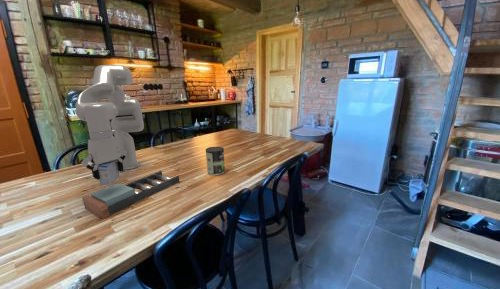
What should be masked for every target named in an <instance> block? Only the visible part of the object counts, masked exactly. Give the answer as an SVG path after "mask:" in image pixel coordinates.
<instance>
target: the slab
mask: <svg viewBox="0 0 500 289" xmlns="http://www.w3.org/2000/svg"><path fill="white" fill-rule="evenodd" d="M135 191H136V190H135V188H134V189H133V188H131V187H128V186H126V184H123V183H120V182H119V183H116V184H114V185H113V184H112V185H109V186H108V187H105V188H103V189H100V190H97V191H95V192H91V193H90V196H92V197H94V198H96V199H98V200H100V201H102V202H104V203H106V204H107V206H111V205H113V204H115V203H117V202H120V201H122V200H124V199H126V198H129V197H131V196H133V195H135Z"/></svg>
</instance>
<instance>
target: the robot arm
mask: <svg viewBox="0 0 500 289" xmlns="http://www.w3.org/2000/svg"><path fill="white" fill-rule="evenodd" d="M133 77H134V76H133V74H132V71H131V70H130V69H129V68H128V67H126V66H125V65H121V64H101V65H100V64H99V65H98V66H96V67H95V68H94V72H93V79H92V85H90V86H88V87H87V88H86V89H84V90H83V91H82V92H80V94H79V95H78V96H77V100H76V103H75V114H76V116H77V118H78V119H79V120H80V121H83V122H86V125H87V130H88V133H89V139H88V140H87V150H88V151H87V152H88V156H87V157H86V158H85V159H83V160H82V161H81V162H80V164H81V165H83V166H84V167H85V168H86V169H88V170H91V173H92V177H93V179H95V180H98V181H99V179H100V176H99V171H98V170H97V168H98V166H99V164H103V163H107V162H110V161H114V160H117V165H118V171H119V172H121V173H122V172H124V171H128V170H133V169H136V168H138V167H140V166H141V162H140V161H138V159H137V153H136V148H135V147H136V146H135V142H134V138H133V136H131V135H130V134H129V133H137V132H142V131H143V130H144V127H145V124H144V118H143V113H142V108H141V107H142V106H141V103H140V101H139V100H138V99H137V98H126V97H125V91H124V89H123V87H121V86H131V85H132V84H133V81H134V80H133V79H134V78H133ZM106 98H107V101H103V100H104V99H106ZM130 115H131V116H130ZM117 116H118V117H117ZM89 162H90V164H91V165H90V164H89Z"/></svg>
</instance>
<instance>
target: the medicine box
mask: <svg viewBox="0 0 500 289" xmlns="http://www.w3.org/2000/svg"><path fill="white" fill-rule="evenodd" d="M97 170H98V171H99V176H100V179H99V180H98V181H99V184H100V186H112V185H113V183H115V182H116V181H117V180H118V179H119V178H120V171H118V165H117V160H114V161H110V162H107V163H103V164H99V166H98V168H97Z"/></svg>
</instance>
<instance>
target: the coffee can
mask: <svg viewBox="0 0 500 289" xmlns="http://www.w3.org/2000/svg"><path fill="white" fill-rule="evenodd" d="M224 149H225V148H224V147H222V146H211V147H207V148H206V149H205V158H206V168H207V174H208V175H211V176H218V175H219V176H221V175H223V174H225V172H226V170H225V168H226V167H225V152H224V151H225V150H224Z"/></svg>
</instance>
